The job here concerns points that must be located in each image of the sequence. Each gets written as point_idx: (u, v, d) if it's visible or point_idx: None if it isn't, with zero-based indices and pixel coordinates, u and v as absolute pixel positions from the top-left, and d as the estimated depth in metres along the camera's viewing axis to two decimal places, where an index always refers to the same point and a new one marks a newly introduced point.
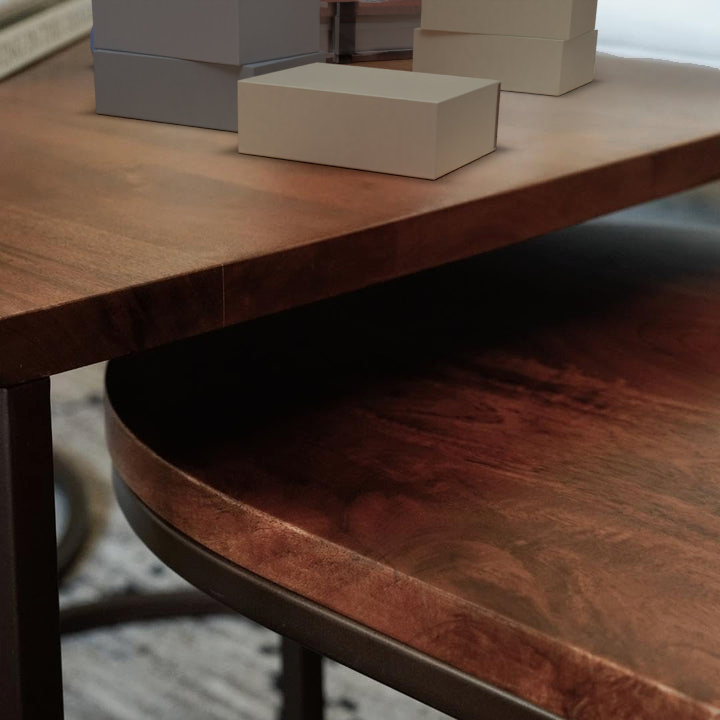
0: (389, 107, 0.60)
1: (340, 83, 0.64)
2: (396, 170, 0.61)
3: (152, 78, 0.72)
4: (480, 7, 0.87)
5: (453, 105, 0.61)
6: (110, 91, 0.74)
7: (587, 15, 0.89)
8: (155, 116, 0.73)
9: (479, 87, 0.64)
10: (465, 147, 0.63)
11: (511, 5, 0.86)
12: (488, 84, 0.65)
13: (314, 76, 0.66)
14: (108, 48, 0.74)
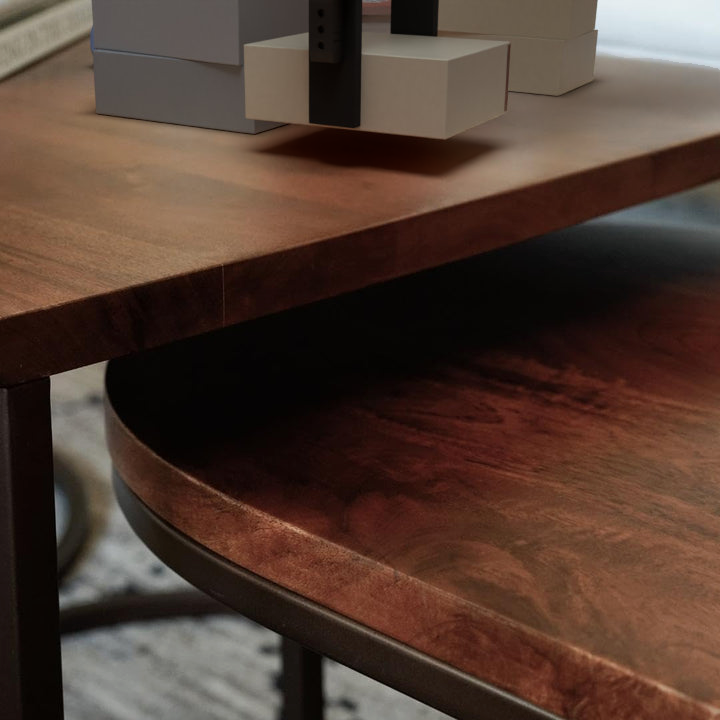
0: (398, 67, 0.59)
1: None
2: (406, 131, 0.60)
3: (152, 78, 0.72)
4: (480, 7, 0.87)
5: (463, 63, 0.60)
6: (110, 91, 0.74)
7: (587, 15, 0.89)
8: (155, 116, 0.73)
9: (489, 47, 0.63)
10: (476, 108, 0.62)
11: (511, 5, 0.86)
12: (498, 45, 0.64)
13: None
14: (108, 48, 0.74)
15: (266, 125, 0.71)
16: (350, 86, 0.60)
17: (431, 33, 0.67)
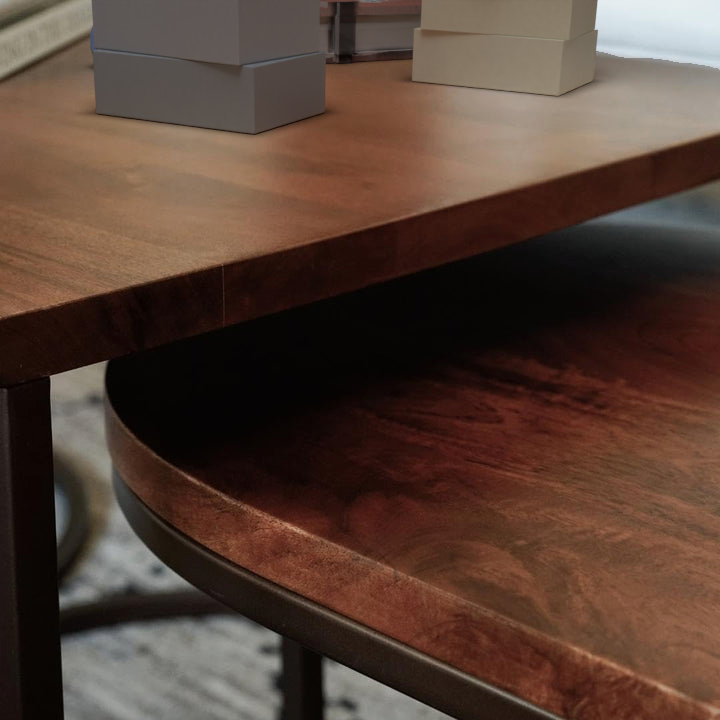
0: None
1: None
2: None
3: (152, 78, 0.72)
4: (480, 7, 0.87)
5: None
6: (110, 91, 0.74)
7: (587, 15, 0.89)
8: (155, 116, 0.73)
9: None
10: None
11: (511, 5, 0.86)
12: None
13: None
14: (108, 48, 0.74)
15: (266, 125, 0.71)
16: None
17: None
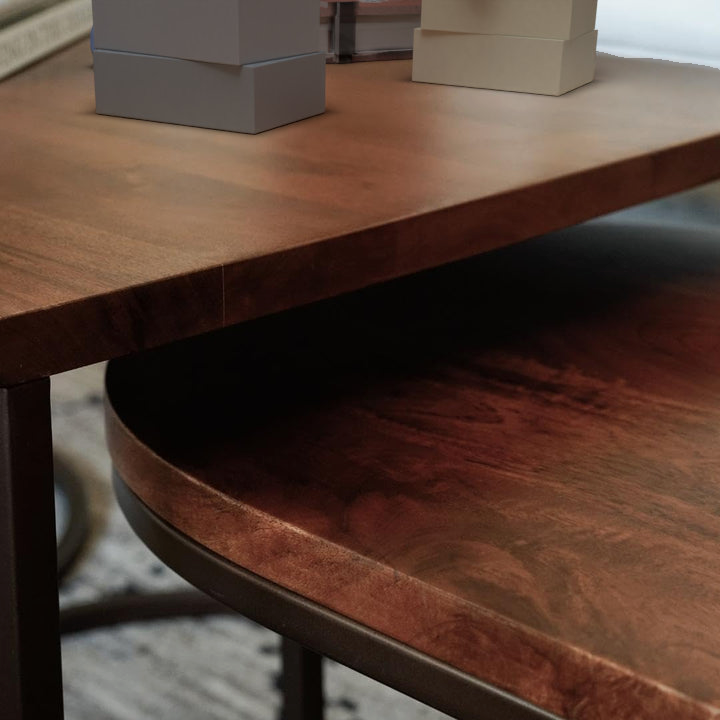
0: None
1: None
2: None
3: (152, 78, 0.72)
4: (480, 7, 0.87)
5: None
6: (110, 91, 0.74)
7: (587, 15, 0.89)
8: (155, 116, 0.73)
9: None
10: None
11: (511, 5, 0.86)
12: None
13: None
14: (108, 48, 0.74)
15: (266, 125, 0.71)
16: None
17: None
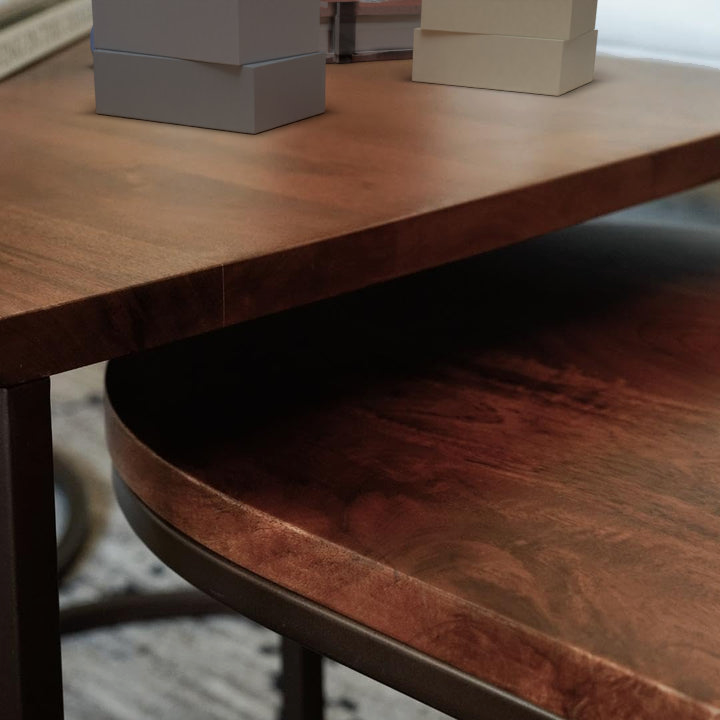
0: None
1: None
2: None
3: (152, 78, 0.72)
4: (480, 7, 0.87)
5: None
6: (110, 91, 0.74)
7: (587, 15, 0.89)
8: (155, 116, 0.73)
9: None
10: None
11: (511, 5, 0.86)
12: None
13: None
14: (108, 48, 0.74)
15: (266, 125, 0.71)
16: None
17: None
